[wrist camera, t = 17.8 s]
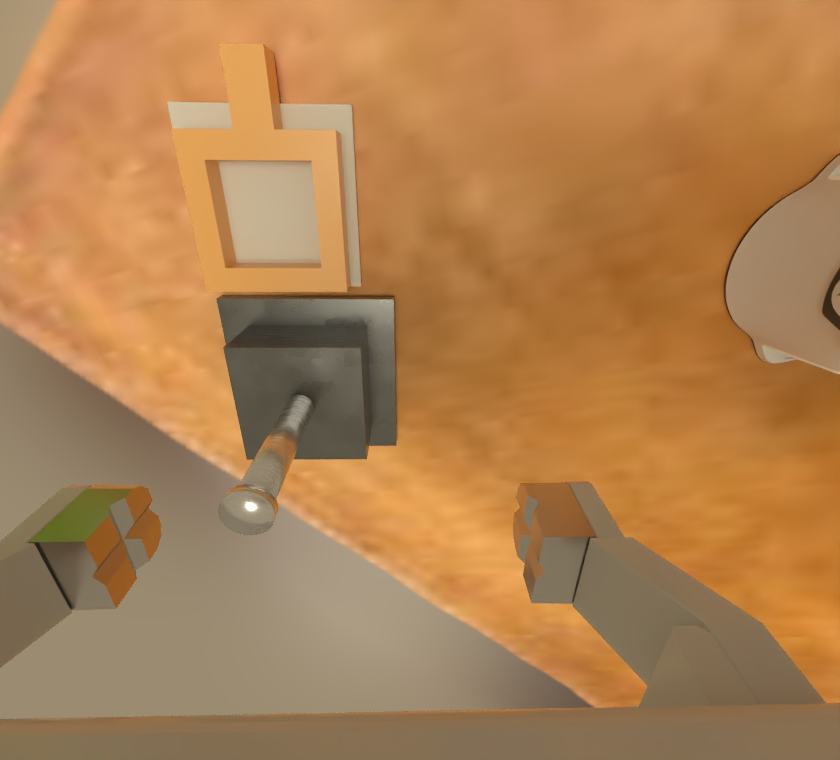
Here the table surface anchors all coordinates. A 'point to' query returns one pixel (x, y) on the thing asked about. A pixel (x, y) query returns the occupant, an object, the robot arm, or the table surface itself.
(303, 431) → the stand
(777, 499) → the table surface
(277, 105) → the orange handled frame
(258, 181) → the mat
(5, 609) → the robot arm
